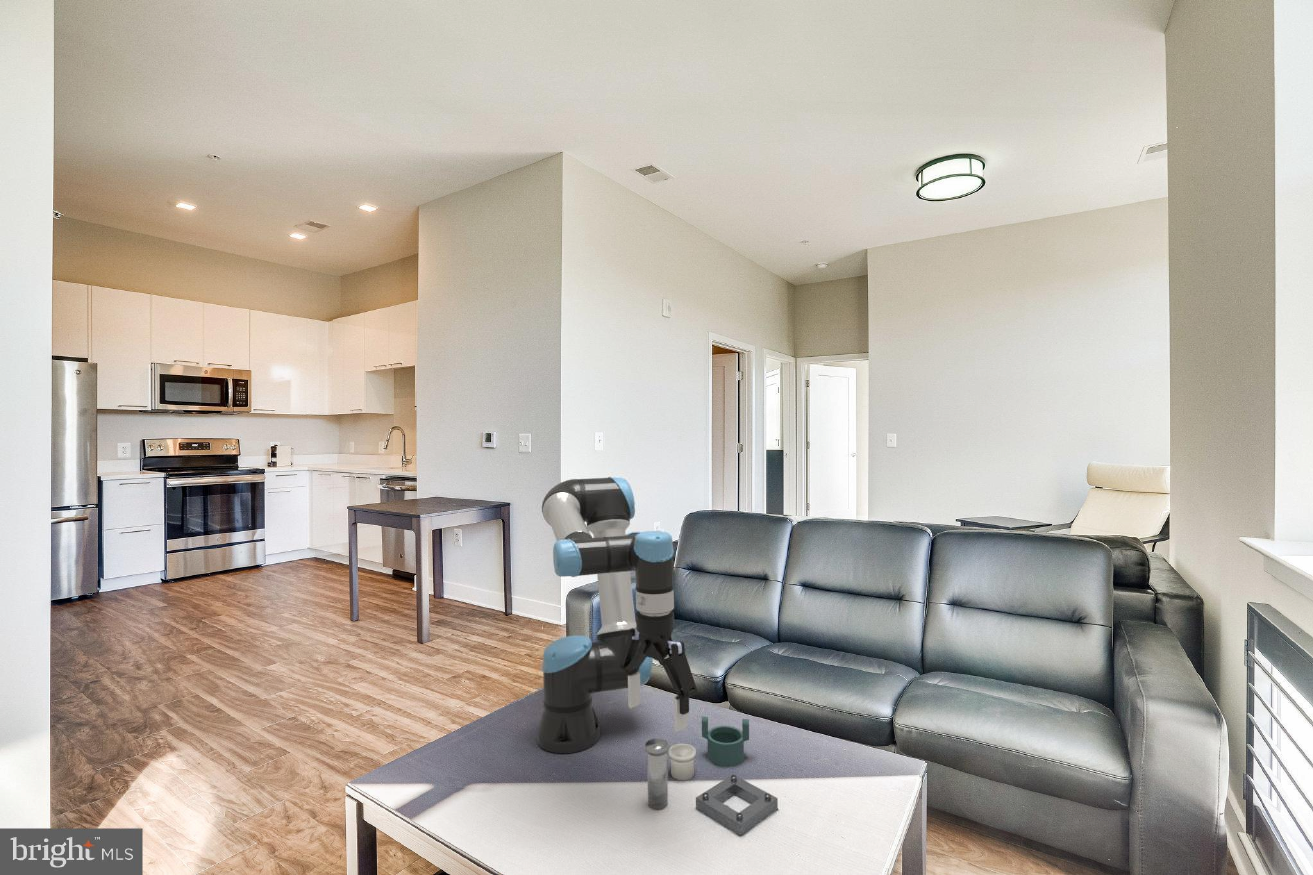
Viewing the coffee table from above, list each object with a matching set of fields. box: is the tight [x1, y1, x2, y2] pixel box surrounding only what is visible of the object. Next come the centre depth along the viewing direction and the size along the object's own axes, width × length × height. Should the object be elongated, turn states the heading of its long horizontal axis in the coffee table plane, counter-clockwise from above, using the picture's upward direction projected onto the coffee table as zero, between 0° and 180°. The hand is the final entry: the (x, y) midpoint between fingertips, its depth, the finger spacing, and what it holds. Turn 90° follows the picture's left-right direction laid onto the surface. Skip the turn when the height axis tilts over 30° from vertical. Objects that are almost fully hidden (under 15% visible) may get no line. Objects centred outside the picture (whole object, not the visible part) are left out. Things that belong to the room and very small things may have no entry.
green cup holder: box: [701, 716, 750, 768], centre depth 139 cm, size 9×9×9 cm
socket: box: [695, 774, 779, 837], centre depth 120 cm, size 11×11×3 cm
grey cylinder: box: [645, 738, 670, 811], centre depth 122 cm, size 5×5×12 cm
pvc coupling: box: [668, 743, 697, 781], centre depth 133 cm, size 6×6×5 cm
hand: (656, 717), depth 122 cm, fingers open, 13 cm apart
